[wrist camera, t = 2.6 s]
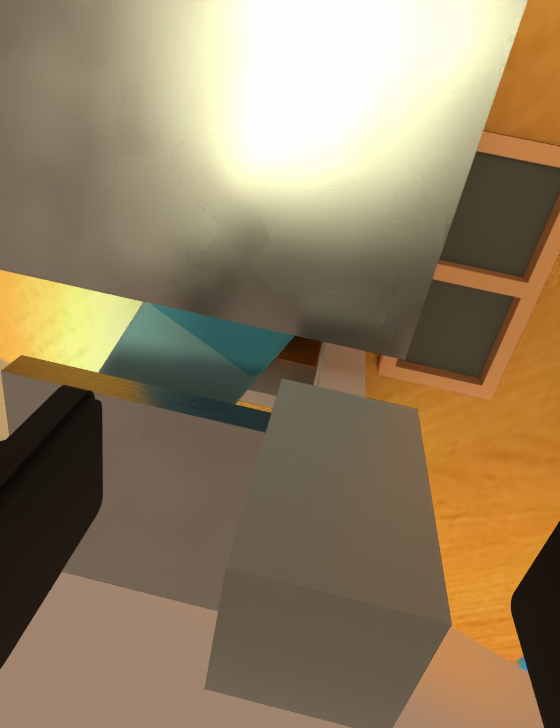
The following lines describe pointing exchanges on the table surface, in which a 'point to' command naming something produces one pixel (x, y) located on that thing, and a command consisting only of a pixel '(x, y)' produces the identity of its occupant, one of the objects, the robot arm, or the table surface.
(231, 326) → the data package
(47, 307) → the table surface
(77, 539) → the robot arm
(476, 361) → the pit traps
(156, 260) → the tunnel
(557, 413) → the table surface
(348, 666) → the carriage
